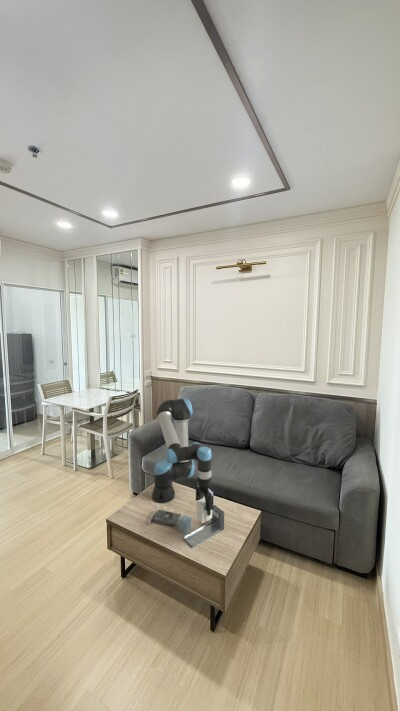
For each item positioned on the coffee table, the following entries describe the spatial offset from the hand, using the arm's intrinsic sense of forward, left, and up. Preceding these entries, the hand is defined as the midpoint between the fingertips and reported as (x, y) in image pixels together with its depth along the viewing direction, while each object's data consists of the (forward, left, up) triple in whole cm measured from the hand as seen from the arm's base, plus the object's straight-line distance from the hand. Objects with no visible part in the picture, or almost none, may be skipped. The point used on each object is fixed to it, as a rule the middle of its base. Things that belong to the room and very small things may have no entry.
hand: (204, 516), depth 157 cm
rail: (0, 0, -10) cm, 10 cm away
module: (0, 0, -1) cm, 1 cm away
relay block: (-10, -6, -10) cm, 16 cm away
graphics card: (-23, -12, -11) cm, 28 cm away
